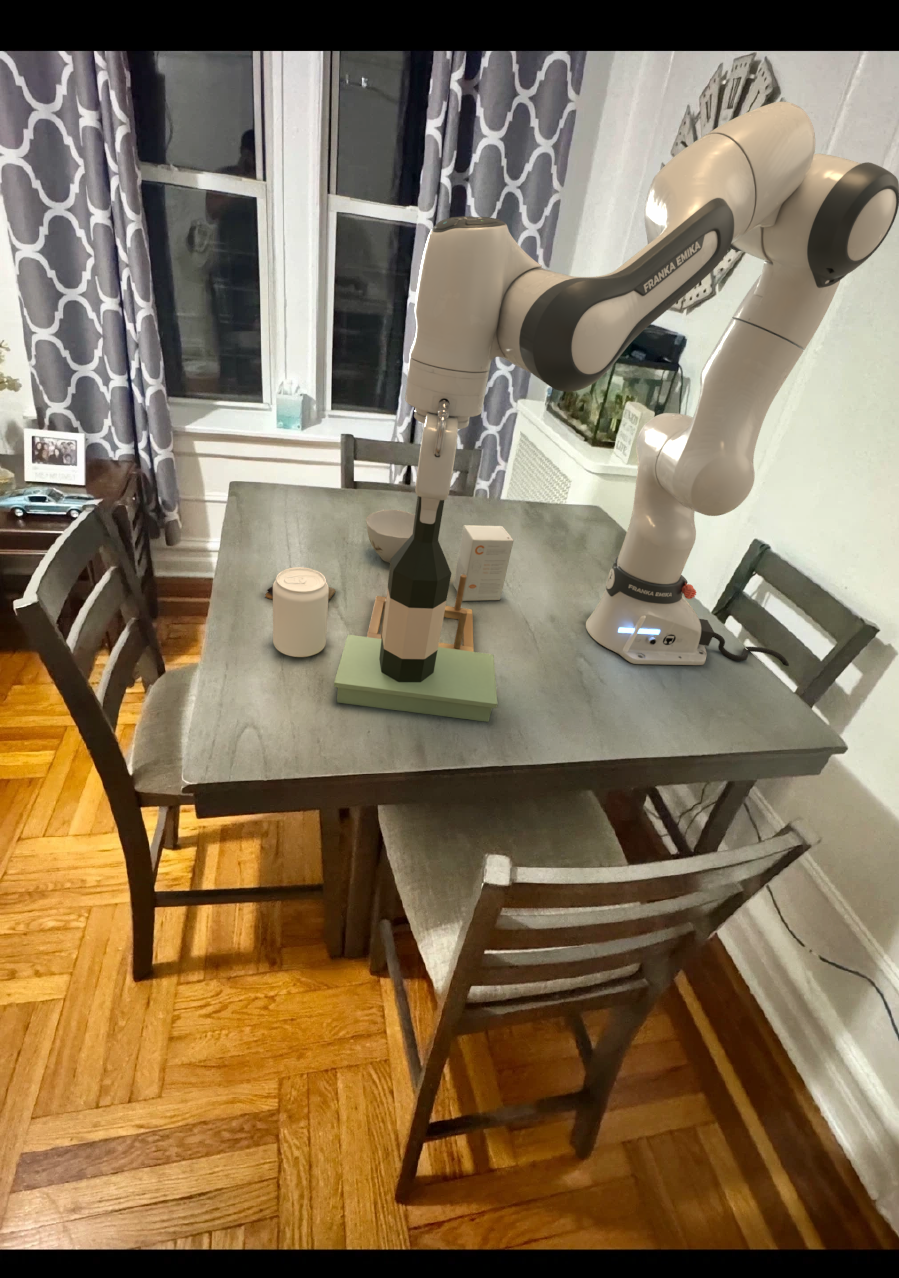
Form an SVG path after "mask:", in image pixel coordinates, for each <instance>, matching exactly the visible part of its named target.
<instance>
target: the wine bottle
mask: <svg viewBox="0 0 899 1278" xmlns="http://www.w3.org/2000/svg"><path fill="white" fill-rule="evenodd" d="M444 505H445V500H440V501H439V505H438V508H437V512H436V518H435V522H434V523H433V524H427V523H422V522H421V521H420V513H421V497H419V496H417V497H416V504H415V511H414V514H415V519H414V527H413V534H412V535H411V537H410V538H409V539H408V540H407V541H406V542H405V543H404V544H403V546H402V547H401V548H400V549H399V550H398V551H397V552H396V553H395V555H394V556H393V557H392V558H391V561H390V563H389V571H388V579H387V589H386V596H385V597H386V605H385V614H384V613H383V614H384V622H383V621H382V622H383V631H382V630H381V631H382V640H381V648H380V657H379V660H380V667H381V672H382V673H384V674H385V675H387V676H389V677H390V678H392V679H394V680H396V681H397V682H422V681H423V680H424V679H426V678H427V677H428V676H430V675H431V674H432V673H434V667H435V662H436V656H437V651H438V645H439V642H440V639H441V634H442V629H443V622H444V618H445V617H444V612H445V606H447V602H448V601H447V600H448V595H449V590H450V584H451V579H452V571H451V568H450V566H449V564H448V561H447V558H446V556H445V553H444V551H443V549H442V546H441V543H440V541H439V537H440V530H441V523H442V518H443V512H444Z"/></svg>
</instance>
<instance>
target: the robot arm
mask: <svg viewBox="0 0 899 1278" xmlns="http://www.w3.org/2000/svg"><path fill="white" fill-rule="evenodd" d="M815 133H816V131H815V128H814V126H813V123H812V120H811V118H810V117H809V115H808V113H807V112H806V111H805V110H804V109H803V108H802V107H800V106H799V105H796V104H794V103H793V102H789V101H775V102H771V103H769V104H765V105H763V106H760V107H757V108H755V109H752V110H750V111H747V112H745V113H742V114H741V115H738V116H736V117H734V118H732V119H730V120H728V121H726V122H724V123H723V124H721V125H719V126H717V127H716V128H714V129H712V130H711V131H709V132H708V133H706V134H704V135H703V136H702V137H700V138H698V139H696V140H695V141H694V142H692V143H690V144H689V145H688V146H686V147H685V148H684V149H682V150H681V151H680V152H678V153H677V154H675V156H673V157H672V158H670V160H669V161H668V162H667V163H666V164H665V165H664V166H663V167H662V168H661V169H660V170H659V171H658V172H657V173H656V174H655V175H654V177H653V178H652V181H651V183H650V186H649V189H648V191H647V195H646V198H645V204H644V213H643V214H644V217H643V219H644V227H645V233H646V237H647V241H648V243H647V244H646V245H645V246H644V247H643V248H641V249H640V250H639V251H637V252H636V253H635V254H634V255H632V256H631V257H630V258H629V259H627V260H626V261H625V262H624V263H622V264H621V265H619V267H618V268H617V269H615V270H613V271H612V272H609V273H606V274H603V275H596V276H573V275H569V274H564V273H561V272H556V271H553V270H550V269H546V268H544V267H543V266H542V264H540V263H539V262H537V261H536V260H534V259H533V257H531V256H530V255H529V254H528V253H527V252H526V251H525V250H524V249H523V248H522V247H521V246H520V245H519V244H518V243H517V241H516V240H515V238H514V237H513V236H512V234H511V233H510V229H509V226H508V225H507V223H506V222H504V221H503V220H501V219H498V218H495V217H489V216H480V217H479V216H473V215H471V216H467V215H465V216H452V217H447V218H445V219H441V220H440V221H438V222H437V223H436V224H435V225H434V226H433V227H432V228H431V229H430V232H429V234H428V236H427V239H426V243H425V246H424V250H423V254H422V259H421V263H420V269H419V275H418V281H417V288H416V295H415V303H414V304H415V305H414V316H415V324H416V325H415V327H416V328H415V335H414V340H413V342H412V345H411V347H410V351H409V355H408V356H409V357H408V366H407V377H406V384H405V394H404V401H405V402H406V403H407V404H408V405H409V406H411V407H413V408H414V413H413V417H414V419H415V420H416V421H418V422H420V423H422V424H423V425H422V433H421V440H420V449H419V456H418V463H417V471H416V478H415V486H414V487H415V489H414V490H415V495H416V496H417V497H418V496H419V497H421V513H420V521H421V522H422V523H427V524H433V523H434V522H435V518H436V512H437V508H438V505H439V501H440V500H444V501H445V500H447V499H448V497H449V494H450V490H451V485H452V477H453V472H454V465H455V459H456V457H455V456H456V452H457V445H458V436H459V430H462V429H466V428H467V427H469V424H470V418H473V417H477V416H480V415H481V414H482V413H483V408H484V402H485V396H486V392H487V386H488V379H489V376H490V375H489V374H490V369H491V363H492V361H493V360H494V359H495V358H501V359H504V360H506V361H508V362H510V363H511V364H512V365H514V366H516V367H518V368H520V369H522V370H524V371H526V372H528V373H530V374H532V375H533V376H535V377H536V378H537V379H539V380H540V381H541V382H543V383H544V384H546V385H547V386H549V387H550V388H552V389H553V390H557V391H559V392H564V393H566V392H567V393H571V392H578V391H581V390H583V389H586V388H588V387H590V386H592V385H594V384H595V383H596V382H598V381H599V380H600V379H601V378H602V377H603V376H605V374H607V373H608V371H610V369H611V368H612V367H613V366H614V364H615V363H616V362H617V361H618V359H619V358H620V357H621V355H622V354H624V352H625V350H626V349H627V348H628V347H629V346H630V344H631V343H632V342H633V341H634V340H635V339H636V338H637V337H638V336H639V335H640V334H641V333H642V332H643V331H645V330H646V329H647V328H648V327H649V326H650V325H652V324H653V323H654V322H655V321H656V320H658V319H659V318H660V317H661V316H662V315H663V314H665V313H666V312H667V311H668V310H669V309H670V308H671V307H673V306H674V305H675V304H676V303H678V302H679V301H680V300H681V299H682V298H684V297H685V296H686V295H687V294H688V293H689V292H691V291H692V290H693V289H694V288H696V286H698V285H699V284H700V283H702V281H704V280H705V278H707V277H708V276H709V275H710V274H711V273H712V272H713V271H714V270H715V269H716V268H717V267H718V265H720V263H721V262H722V261H723V259H724V258H725V257H726V255H727V253H728V252H729V250H730V249H731V250H733V251H735V252H744V253H745V254H747V255H750V256H752V257H754V258H756V259H759V260H762V261H764V262H763V266H762V270H761V273H760V274H759V276H758V277H757V279H756V280H755V281H754V283H753V284H752V286H751V287H750V288H749V289H748V291H747V293H746V294H745V296H744V297H743V299H742V300H741V302H740V303H739V305H738V307H737V308H736V310H735V311H734V314H733V315H732V316H731V318H730V320H729V322H728V324H727V325H726V327H725V329H724V330H723V332H722V334H721V335H720V337H719V339H718V341H717V343H716V344H715V346H714V348H713V349H712V351H711V353H710V355H709V357H708V358H707V360H706V362H705V364H704V365H703V367H702V369H701V372H700V376H699V383H700V389H699V397H698V401H697V404H696V408H695V411H694V413H693V416H691V415H688V414H683V413H675V412H664V413H660V414H657V415H655V416H653V417H652V418H650V419H649V420H648V421H647V422H646V423H645V424H644V425H643V426H642V428H641V429H640V430H639V433H638V435H637V437H636V441H635V451H636V452H635V453H636V457H637V469H636V470H637V471H636V480H635V489H634V496H633V504H632V512H631V516H630V519H629V520H630V521H629V524H628V527H627V531H626V533H625V536H624V540H623V542H622V546H621V548H620V551H619V554H618V556H616V558H615V559H614V561H613V564H612V566H611V568H610V570H609V572H608V576H607V579H606V583H605V589H604V592H603V594H602V596H601V598H600V600H599V601H598V604H597V605H596V607H595V608H594V610H593V612H592V613H591V615H589V617H588V618H587V619H586V621H585V629H586V631H587V633H588V634H589V636H590V637H591V638H592V639H593V640H594V641H595V642H597V643H598V644H599V645H601V646H603V647H604V648H606V649H608V650H610V651H612V652H614V653H616V654H618V655H620V656H621V657H622V658H623V659H624V660H626V662H627V661H628V662H629V663H631V664H633V665H667V666H668V665H671V666H704V665H705V663H706V659H707V656H708V653H707V648H706V646H707V647H709V646H710V643H711V642H712V640H713V638H714V639H716V640H717V641H718V646H717V647H718V651H719V652H720V653H721V654H722V655H723V656H725V657H726V658H728V659H730V660H734V661H737V662H738V661H739V662H743V661H747V659H748V658H749V653H762V654H767V655H770V656H772V657H775V658H776V659H778V660H779V661H780V662H781V664H782V665H783V666H786V667H789V666H790V663H789V662H788V660H787V658H786V657H785V656H784V655H783V654H781V653H780V652H778V651H775V650H773V649H771V648H767V647H761V646H746V648H747V649H748V650H746V649H745V647H743V648H742V650H741V651H742V652H741V655H738V654H734V653H732V652H730V651H728V650H727V649H726V648H725V645H726V640H725V639H724V637H723V636H722V635H721V634H719V633H717V632H715V631H714V629H713V627H712V625H711V624H710V622H709V620H708V619H705V618H700V617H699V616H698V614H697V613H696V611H695V610H694V609H693V607H692V606H691V605H690V603H689V602H688V600H692V599H693V598H695V597H696V596H697V590H696V589H695V588H694V586H693V584H689V583H688V580H687V578H686V577H685V576H684V575H682V574H683V571H684V569H685V566H686V564H687V562H688V559H689V557H690V555H691V552H692V550H693V548H694V546H695V543H696V539H697V538H696V537H697V528H696V523H695V522H696V521H695V512H696V513H698V514H701V515H704V516H708V517H717V516H722V515H726V514H728V513H730V512H732V511H734V510H736V509H737V508H738V507H739V506H740V505H742V503H744V502H745V500H746V499H747V498H748V496H749V494H751V491H752V489H753V487H754V484H755V475H756V474H755V473H756V472H755V466H754V459H755V458H754V457H755V451H756V446H757V442H758V440H759V435H760V433H761V430H762V427H763V423H764V421H765V418H766V416H767V413H768V411H769V410H770V407H771V405H772V403H773V401H774V399H775V398H776V396H777V395H778V393H779V391H780V390H781V388H782V386H783V385H784V383H785V381H786V380H787V378H788V377H789V375H790V374H791V372H792V370H793V369H794V368H795V365H796V364H797V363H798V361H799V360H800V358H801V356H802V355H803V354H804V352H805V350H806V349H807V347H808V346H809V344H810V343H811V341H812V340H813V338H814V336H815V334H816V332H817V330H818V328H819V327H820V325H821V323H822V322H823V319H824V318H825V316H826V313H827V312H828V310H829V308H830V305H831V304H832V302H833V299H834V297H835V294H836V293H837V290H838V287H839V285H840V282H841V280H843V279H844V278H845V277H846V276H848V275H849V274H850V273H852V272H853V271H855V270H856V269H857V268H859V267H860V266H862V265H863V264H864V263H865V262H866V261H867V260H868V259H869V258H870V257H872V255H873V254H874V253H876V251H877V250H878V249H879V248H880V247H881V245H882V244H883V242H884V241H885V240H886V237H887V236H888V234H889V232H890V231H891V228H892V227H893V224H894V222H895V220H896V217H897V215H898V210H899V180H898V179H899V178H897V176H896V175H895V174H894V173H893V172H891V171H889V170H888V169H886V168H884V167H883V166H880V165H878V164H875V163H872V162H867V161H866V162H861V163H860V162H858V161H854V160H851V159H848V158H845V157H840V156H836V155H832V154H825V153H816V134H815ZM687 599H688V600H687Z"/></svg>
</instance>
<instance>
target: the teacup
mask: <svg viewBox="0 0 899 1278" xmlns="http://www.w3.org/2000/svg"><path fill="white" fill-rule="evenodd" d="M414 519H415V513H412V512H408V511H406V510H400V509H399V510H398V509H383V510H382V509H381V510H377V511H375V512H371V513H369V515H367V517H366V518H365V521H366V522H365V523H366V529H367V531H366V532H367V535H368V540H369V542H370V544H371V546H372V548H373V549H374V551H375V552H376V554H377V555H378V556H379V557H380V559H381V560H382V561H384V562H385V563H389V564H390V561H391V558H392V557H393V556H394V555H395V553H396V552H397V551H398V550H399V549H400V548H401V547H402V546H403V544H404V543H405V542H406V541H407V540H408V539H409V538H410V537H411V535H412V534H413V527H414Z"/></svg>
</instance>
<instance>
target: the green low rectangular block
mask: <svg viewBox="0 0 899 1278" xmlns="http://www.w3.org/2000/svg"><path fill="white" fill-rule="evenodd" d="M381 640H382V639H377V638H369V637H367V636H362V635H355V634H347V635H346V639H345V642H344V647H343V649H342V653H341V656H340V660H339V664H338V668H337V671H336V675H335V678H334V681H333V687H334V688H337V694H336V695H337V696H336V703H338V704H346V705H354V706H360V707H361V706H362V707H369V708H376V709H377V708H378V709H385V710H394V711H400V712H408V713H416V714H423V715H424V714H425V715H431V716H439V717H440V716H441V717H446V718H447V717H448V718H454V719H462V720H470V721H477V722H484V723H485V722H486V723H489V722H490V717H491V714H492V711H493V710H492V709H497V707H498V695H497V682H496V669H495V655H494V654H493V653H486V652H485V653H484V652H479V651H478V652H477V651H474V652H471V651H464V650H456V649H449V648H442V647H438V651H437V656H436V662H435V667H434V673H432V674H431V675H430V676H428V677H427V678H426V679H424V680H423V681H422V682H397V681H396V680H394V679H392V678H390V677H389V676H387V675H385V674H384V673H382V672H381V667H380V660H379V657H380V648H381Z"/></svg>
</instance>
